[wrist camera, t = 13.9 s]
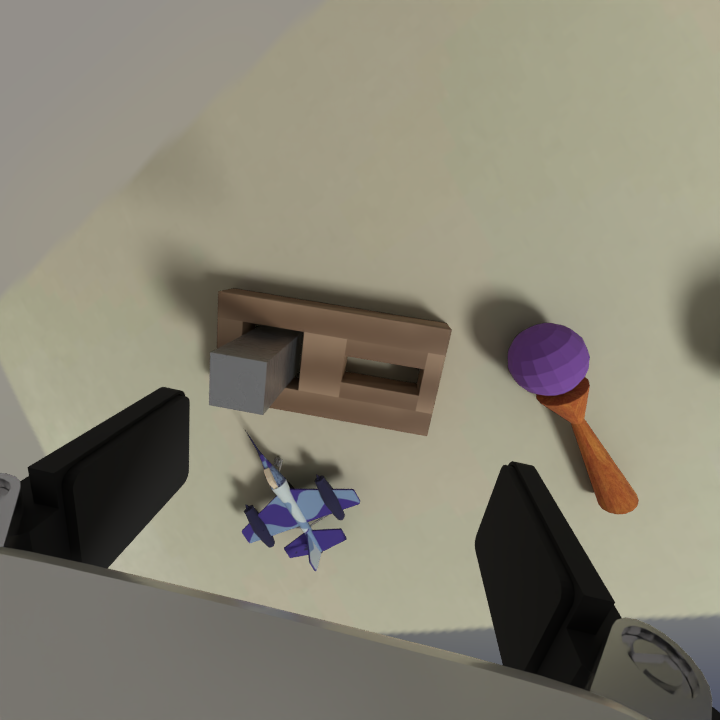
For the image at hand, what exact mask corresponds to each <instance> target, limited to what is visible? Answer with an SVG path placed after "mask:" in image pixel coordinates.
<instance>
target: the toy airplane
mask: <svg viewBox="0 0 720 720" xmlns="http://www.w3.org/2000/svg"><path fill="white" fill-rule="evenodd" d="M245 431H246V430H245ZM247 434H248V433H247ZM248 436H249V435H248ZM249 438H250V436H249ZM250 439H251V438H250ZM251 441H252V439H251ZM252 443H253V444H254V442H253V441H252ZM254 446H255V448H256V450H257V452H258V454H259V457H260V459H261V461H262V464H263V467H264V473H265V476H266V479H267V481H268V483H269V485H270V487H271V489H272V490H273V492H274V493H275V494H276V495H277V496H276V497H275V498H274V499H273V500H272V501H271V502H270V503H269V504H268V505H267V506H266V507H265V508H264V509H263V510H262V511H261V512H260V513H259V512H258V511H257V510H256V509H255V508H254V507H253V505H251V506H248V505H246V504H245V505H246V509H245V511H244V513H245V514H246V516H247V519H248V521H249V524H248V525H247V526H246V527H245V528H244V529H243V530H242V533H243V535H244V536H245V538H246V539H247V541H248V542H249V543H252V542H255V541H258V540H262V541H263V542H264V543H265V544H266V545H267V546H268V547H273V546H274V544H275V541H274V538H273V535H275V534H278V533H281V532H284V531H287V530H290V529H293V528H301V529H302V531H303V532H304V533H303V534H302V535H300V536H299V537H298V538H296V539H295V540H294V541H292V542H291V543H290V544H288V545H287V546H286V547H284V550H285V551H286V553H287V554H288V556H289V557H290V558H293V557H299V556H304V555H309V563H310V564H311V566H312V568H313V569H314V571H317V568H318V564H319V560H320V556H321V553H322V552H323V551H325V550H327V549H329V548H331V547H333V546H335V545H337V544H339V543H341V542H343V541H345V540H346V539H347V538H346V536H345V534H344V533H343V531H342V529H341V528H340V529H323V530H312V529H311V526H312V525H314V524H315V523H317V522H318V521H320V520H321V519H323V518H324V517H326V516H327V515H329V514H333V515H334V516H335V517H336V518H337V519H338V520H343V519H344V517H345V514H344V511H343V509H346V508H349V507H352V506H355V505H358V504H359V503H360V499H359V498H358V496H357V494H356V492H355V491H354V489H333V488H332V487H331V485H330V484H329V483H328V482H327V480H326V479H325V478H324V476H318V475H317V474H316V477H317V478H316V479H315V483H316V485H317V488H318V489H295V488H294V487H293V486H292V485H291V484H290V483H289V482H288V481H287V480H286V478H285V477H284V476H283V475H282V474H281V473H280V469H281V465H282V461H283V460H281V459H280V458H279V457H276V458H275V460H274V462H275V463H274V466H273V465H272V464H271V463H270V462H269V461H268V460H267V459H266V458H265V457H264V455H263V454H262V453H261V452H260V451H259V450H258V448H257V447H256V445H255V444H254ZM275 465H276V466H277V467H279V471H278V470H277V469H276V468H275ZM318 518H320V519H318ZM315 519H318V520H317V521H315V522H314V523H312V524H311V525H309V523H308V522H309V521H312V520H315Z"/></svg>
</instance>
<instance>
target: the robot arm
mask: <svg viewBox="0 0 720 720" xmlns="http://www.w3.org/2000/svg"><path fill="white" fill-rule="evenodd" d="M189 407H190V402H189V398H188V397H185V394H184V392H183V391H180V390H175V389H171V388H166V387H161V388H159V389H157V390H156V391H154V392H152V393H151V394H149V395H147V396H146V397H144V398H142V399H141V400H139V401H137V402H136V403H134V404H132V405H131V406H129V407H127V408H126V409H124V410H122V411H121V412H119V413H117V414H116V415H114V416H112V417H111V418H109V419H107V420H106V421H104V422H102V423H101V424H99V425H97V426H96V427H94V428H92V429H91V430H89V431H87V432H86V433H84V434H82V435H81V436H79V437H77V438H76V439H74V440H72V441H71V442H69V443H67V444H66V445H64V446H62V447H61V448H59V449H57V450H56V451H54V452H52V453H51V454H49V455H47V456H46V457H44V458H42V459H41V460H39V461H38V462H36V463H34V464H32V465H31V466H29V467H28V472H29V476H28V477H26V478H25V479H24V480H22V481H20V480H19V479H17V477H15V476H13V475H10V474H7V473H0V720H720V713H719V712H718V711H717V710H716V709H715V708H713V707H712V696H711V691H710V686H709V684H708V683H707V681H706V679H705V677H704V675H703V673H702V671H701V670H700V669H699V668H698V666H697V665H696V664H695V662H694V661H693V660H692V658H691V657H690V656H689V655H688V654H687V653H686V652H685V651H684V650H683V649H682V648H681V647H680V646H679V645H678V644H677V643H675V642H674V641H673V640H671V639H670V638H669V637H668V636H666V635H665V634H664V633H662V632H661V631H659V630H657V629H656V628H654V627H652V626H651V625H649V624H646V623H644V622H642V621H639V620H637V619H631V618H621V616H620V614H619V613H618V611H617V609H616V608H615V606H614V603H615V601H614V600H613V598H612V596H611V595H610V593H609V591H608V590H607V588H606V586H605V585H604V583H603V581H602V580H601V578H600V576H599V574H598V573H597V571H596V569H595V568H594V566H593V564H592V563H591V561H590V559H589V558H588V556H587V554H586V553H585V551H584V549H583V548H582V546H581V544H580V543H579V541H578V539H577V537H576V536H575V534H574V532H573V531H572V529H571V527H570V526H569V524H568V522H567V521H566V519H565V517H564V516H563V514H562V512H561V511H560V509H559V507H558V506H557V504H556V502H555V501H554V499H553V497H552V495H551V494H550V492H549V490H548V489H547V487H546V485H545V484H544V482H543V480H542V479H541V477H540V475H539V474H538V472H537V470H536V469H535V467H534V466H532V465H527V464H523V463H518V462H513V461H512V462H510V463H509V465H508V466H507V465H503V466H502V468H501V470H500V473H499V476H498V478H497V481H496V484H495V486H494V489H493V492H492V494H491V497H490V500H489V503H488V505H487V508H486V511H485V513H484V516H483V519H482V522H481V524H480V527H479V530H478V532H477V535H476V539H475V551H476V555H477V559H478V563H479V568H480V572H481V576H482V580H483V584H484V588H485V592H486V597H487V601H488V605H489V609H490V613H491V617H492V622H493V626H494V630H495V634H496V638H497V642H498V646H499V651H500V655H501V659H502V663H503V665H499V664H495V663H492V662H488V661H484V660H480V659H477V658H473V657H469V656H466V655H462V654H457V653H454V652H449V651H446V650H442V649H438V648H434V647H430V646H426V645H421V644H418V643H413V642H410V641H406V640H401V639H397V638H393V637H389V636H385V635H381V634H377V633H373V632H369V631H365V630H361V629H357V628H353V627H349V626H345V625H341V624H337V623H333V622H329V621H325V620H321V619H317V618H312V617H308V616H304V615H300V614H296V613H292V612H288V611H284V610H280V609H275V608H271V607H267V606H263V605H259V604H255V603H251V602H246V601H242V600H238V599H234V598H230V597H226V596H222V595H217V594H213V593H209V592H205V591H201V590H196V589H192V588H188V587H184V586H179V585H175V584H171V583H167V582H162V581H158V580H154V579H150V578H145V577H141V576H137V575H133V574H128V573H124V572H120V571H116V570H111V569H107V568H108V567H109V566H110V565H111V564H112V563H113V562H114V561H115V559H116V558H117V557H118V556H119V555H120V554H121V553H122V552H123V551H124V549H125V548H126V547H127V546H128V545H129V544H130V543H131V542H132V541H133V540H134V538H135V537H136V536H137V535H138V534H139V533H140V532H141V531H142V530H143V528H144V527H145V526H146V525H147V524H148V523H149V522H150V521H151V520H152V518H153V517H154V516H155V515H156V514H157V513H158V512H159V511H160V510H161V509H162V507H163V506H164V505H165V504H166V503H167V502H168V501H169V500H170V499H171V497H172V496H173V495H174V494H175V493H176V492H177V491H178V490H179V489H180V488H181V486H182V485H183V484H184V483H185V481H186V479H187V477H188V473H189Z"/></svg>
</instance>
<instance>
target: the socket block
mask: <svg viewBox="0 0 720 720" xmlns="http://www.w3.org/2000/svg"><path fill="white" fill-rule="evenodd" d="M255 324H261V325H266V326H272V327H278V328H284V329H290V330H296V331H302V332H304V340H303V350H302V360H301V369H300V378H297V377H294V378H293V379H292V380H291V381H290V383H289V384H288V385H287V386H286V388H285V389H284V390H283V391H282V392H281V394H280V395H279V396H278V397H277V398H276V400H275V401H274V402H273V403H272V405H271V406H270V407H269V408H274V409H280V410H285V411H291V412H296V413H302V414H307V415H313V416H318V417H324V418H329V419H335V420H340V421H346V422H352V423H357V424H363V425H368V426H374V427H379V428H385V429H390V430H396V431H401V432H407V433H412V434H418V435H424V436H427V434H428V430H429V425H430V421H431V417H432V413H433V408H434V404H435V400H436V395H437V391H438V387H439V383H440V378H441V374H442V370H443V365H444V361H445V357H446V353H447V348H448V344H449V340H450V335H451V331H452V330H451V328H450V327H449V326H448V324H447V323H442V322H436V321H430V320H424V319H418V318H412V317H406V316H400V315H393V314H387V313H381V312H375V311H369V310H363V309H357V308H351V307H345V306H339V305H333V304H327V303H321V302H314V301H308V300H302V299H296V298H290V297H284V296H278V295H272V294H266V293H260V292H254V291H248V290H242V289H235V288H233V289H228V290H223V291H218V325H217V348H219V347H221V346H223V345H225V344H227V343H229V342H231V341H233V340H234V339H236V338H238V337H240V336H242V335H244V334H246V333H248V332H249V331H251V330H253V329H255ZM348 356H350V357H355V358H361V359H367V360H373V361H379V362H385V363H390V364H396V365H402V366H408V367H414V368H420V371H419V376H418V380H417V384H415V383H409V382H403V381H398V380H392V379H386V378H380V377H375V376H369V375H363V374H357V373H352V372H346V364H347V358H348Z"/></svg>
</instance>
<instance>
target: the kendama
mask: <svg viewBox="0 0 720 720" xmlns="http://www.w3.org/2000/svg"><path fill="white" fill-rule="evenodd" d="M589 358H590V356H589V353H588V350H587V347H586V345H585V343H584V341H583V339H582V337H580V336H579V335H578V334H577V333H575V332H574V331H573V330H571V329H570V328H568V327H566V326H563V325H558V324H553V323H542V324H537V325H534V326H532V327H529V328H527V329H525V330H524V331H522V332H521V333H519V334H518V335H517V336H516V337H515V339H514V340H513V342H512V344H511V346H510V348H509V350H508V369H509V371H510V373H511V375H512V376H513V378H514V380H515V381H516V382H517V383H518V384H519V385H520V386H522V387H523V388H524V389H526V390H527V391H529V392H531V393H535V394H536V398H537V400H538V401H539V402H540V403H541V404H543V405H544V406H546V407H547V408H549V409H550V410H552V411H554V412H555V413H557V414H558V415H560V416H561V417H563V418H564V419H566V420H567V421H569V422H571V425H572V428H573V431H574V434H575V437H576V440H577V443H578V445H579V448H580V451H581V454H582V457H583V460H584V463H585V466H586V469H587V472H588V475H589V478H590V481H591V484H592V486H593V489H594V492H595V495H596V498H597V501H598V504H599V505H600V506H601V508H602V509H604V510H605V511H607V512H609V513H613V514H626V513H628V512H631V511H633V510H634V509H635V508H636V507H637V505H638V501H639V500H638V497H637V494H636V493H635V491H634V490H633V489H632V487H631V486H630V484H629V483H628V481H627V480H626V478H625V477H624V476H623V474H622V473H621V471H620V470H619V468H618V467H617V465H616V464H615V462H614V461H613V460H612V458H611V457H610V455H609V454H608V452H607V451H606V449H605V448H604V447H603V445H602V444H601V442H600V441H599V439H598V438H597V436H596V435H595V434H594V432H593V431H592V429H591V428H590V426H589V425H588V423H587V422H586V421H585V419H584V416H585V410H586V404H587V398H588V392H589V387H590V385H589V381H588V379H587V378H585V375H586V373H587V371H588V367H589Z"/></svg>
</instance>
